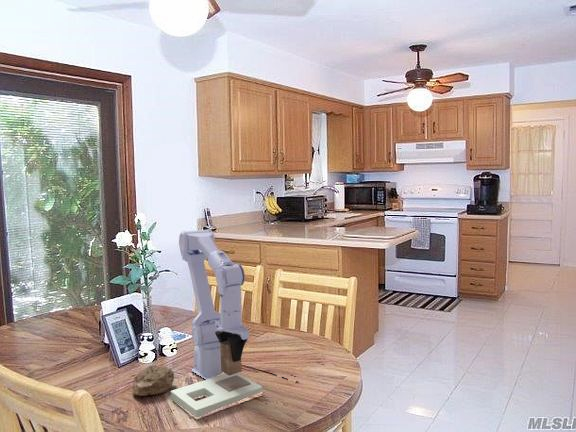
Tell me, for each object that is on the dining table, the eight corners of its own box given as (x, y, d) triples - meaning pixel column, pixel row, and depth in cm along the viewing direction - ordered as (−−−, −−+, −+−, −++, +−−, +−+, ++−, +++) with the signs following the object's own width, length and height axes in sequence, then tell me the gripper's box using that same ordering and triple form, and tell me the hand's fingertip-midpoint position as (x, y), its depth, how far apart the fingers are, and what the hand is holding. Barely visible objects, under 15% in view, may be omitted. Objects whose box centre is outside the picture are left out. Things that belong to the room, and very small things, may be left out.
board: (170, 400, 128) (170, 389, 127) (234, 379, 140) (234, 370, 140) (196, 420, 117) (196, 409, 117) (262, 395, 129) (262, 385, 129)
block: (221, 371, 131) (220, 342, 131) (233, 367, 134) (232, 339, 133) (229, 375, 128) (227, 346, 127) (241, 371, 131) (240, 342, 130)
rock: (154, 403, 126) (153, 385, 126) (121, 396, 130) (120, 379, 130) (183, 383, 138) (183, 366, 138) (153, 378, 142) (152, 361, 142)
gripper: (204, 306, 133) (205, 354, 134) (232, 318, 122) (234, 370, 123) (226, 302, 137) (227, 348, 138) (255, 313, 126) (256, 363, 127)
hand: (232, 358), depth 131 cm, fingers closed on block, 4 cm apart
